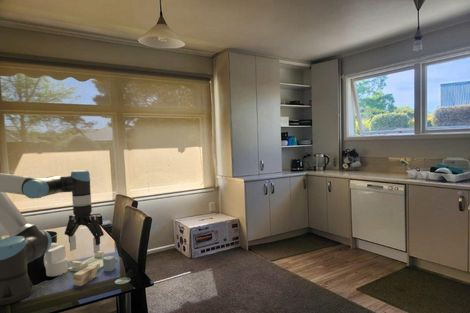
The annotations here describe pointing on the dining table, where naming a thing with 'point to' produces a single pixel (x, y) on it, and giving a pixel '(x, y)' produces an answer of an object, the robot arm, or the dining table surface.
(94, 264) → the jig
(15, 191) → the robot arm
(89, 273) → the fuselage bar
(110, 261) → the tail block
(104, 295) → the dining table surface
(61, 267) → the cylinder with rectangular tab
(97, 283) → the dining table surface
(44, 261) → the figurine
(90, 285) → the dining table surface
